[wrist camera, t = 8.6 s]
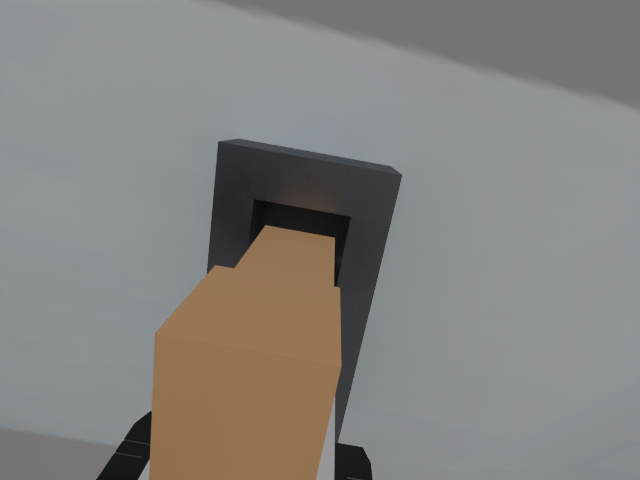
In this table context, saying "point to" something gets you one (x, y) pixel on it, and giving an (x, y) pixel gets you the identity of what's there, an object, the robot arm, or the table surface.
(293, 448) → the notched wooden block
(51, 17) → the table surface
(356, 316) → the slotted gray block
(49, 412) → the table surface
